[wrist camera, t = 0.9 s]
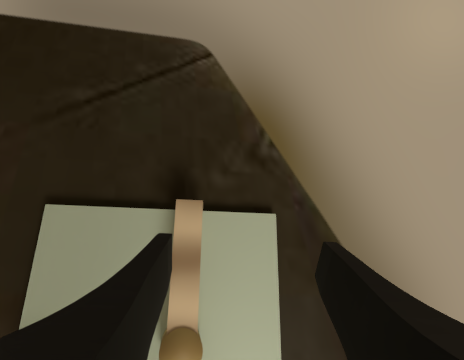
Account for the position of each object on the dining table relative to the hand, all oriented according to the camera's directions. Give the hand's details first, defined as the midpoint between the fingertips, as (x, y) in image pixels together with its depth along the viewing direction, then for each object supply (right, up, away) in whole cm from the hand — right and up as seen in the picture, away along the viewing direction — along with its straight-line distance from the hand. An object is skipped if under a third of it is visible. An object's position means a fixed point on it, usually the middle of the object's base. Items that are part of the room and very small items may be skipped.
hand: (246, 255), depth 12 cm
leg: (-5, -6, +14) cm, 16 cm away
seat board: (-8, -9, +14) cm, 18 cm away
